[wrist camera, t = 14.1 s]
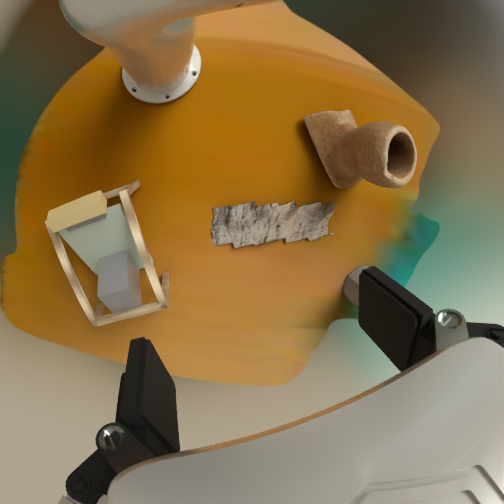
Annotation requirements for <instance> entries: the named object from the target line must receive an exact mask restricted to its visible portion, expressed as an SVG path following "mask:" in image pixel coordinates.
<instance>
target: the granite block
mask: <svg viewBox="0 0 504 504" xmlns="http://www.w3.org/2000/svg"><path fill="white" fill-rule="evenodd" d="M97 297H98V298H99V299H100V300H101V301H102V302H103V303H104V304H105V306H106V307H107V308H108V309H109V310H110V311H111V312H112V313H117V312H121V311H125V310H128V309H132V308H136V307H140V306H142V299H141V288H140V275H139V268H138V266H137V265H136V263H135V262H134V260H133V258H132V257H131V255H130V253H129V252H128V250H124V251H121V252H118V253H115V254H112V255H108V256H105V257H102V258H99V266H98V291H97Z"/></svg>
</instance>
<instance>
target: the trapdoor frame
mask: <svg viewBox="0 0 504 504" xmlns="http://www.w3.org/2000/svg"><path fill="white" fill-rule="evenodd" d="M140 186H141V185H140V182H139V180H137V181H134V182H132V183H131V184H128V185H125V186H122V187H119V188H117V189H114V190H111V191H108V192H105V193H103V195H104V196H105V198H106V199H109V198H112V197H115V196H118V195H120V198H121V201H122V204H123V207H124V211H125V214H126V217H127V220H128V223H129V226H130V229H131V232H132V235H133V238H134V240H135V243H136V246H137V249H138V252H139V254H140V257H141V260H142V262H143V265H144V267H145V270H146V273H147V275H148V278H149V280H150V283H151V285H152V288H153V290H154V292H155V295H156V297H157V300H158V301H156V302H153V303H149V304H145V305H142V306H140V307H136V308H132V309H128V310H125V311H121V312H117V313H112V314H108V315H104V316H102V315H103V312H104V310H105V307H106V306H105V304H104V303H103V302H102V301H101V300H100V301H99V303H98V305H97V308H96V310H95V312H94V311H93V309H92V307H91V305H90V303H89V301H88V299H87V297H86V295H85V293H84V291H83V289H82V287H81V285H80V283H79V281H78V279H77V276H76V274H75V272H74V270H73V268H72V265H71V263H70V261H69V258H68V256H67V253H66V251H65V248H64V246H63V243H62V241H61V238H60V236H59V233H58V231H57V232H55V233H54V232H53V231H52V230H51V229H50V227H49V226H48V225H47V224H46V226H47V229H48V232H49V234H50V237H51V240H52V242H53V245H54V247H55V250H56V252H57V255H58V257H59V260H60V262H61V264H62V267H63V269H64V271H65V273H66V275H67V278H68V280H69V282H70V284H71V286H72V288H73V290H74V292H75V294H76V296H77V298H78V300H79V302H80V304H81V306H82V308H83V310H84V312H85V314H86V315H87V317H88V319H89V321H90V323H91V324H92V326H93V327H97V326H101V325H105V324H109V323H113V322H117V321H121V320H125V319H129V318H133V317H136V316H140V315H144V314H148V313H152V312H155V311H159V310H163V309H166V308H168V303H169V284H170V275H169V272H168V271H167V272H164V273H163V277H162V285H160V282H159V280H158V277H157V275H156V272H155V269H154V267H153V264H152V261H151V259H150V256H149V253H148V250H147V247H146V245H145V242H144V239H143V236H142V233H141V230H140V227H139V224H138V221H137V218H136V215H135V212H134V208H133V205H132V202H131V199H130V195H131V194H132V193H133V192H134V191H135V190H136V189H138V188H139V187H140ZM46 221H47V220H46ZM46 221H45V223H46Z"/></svg>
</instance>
